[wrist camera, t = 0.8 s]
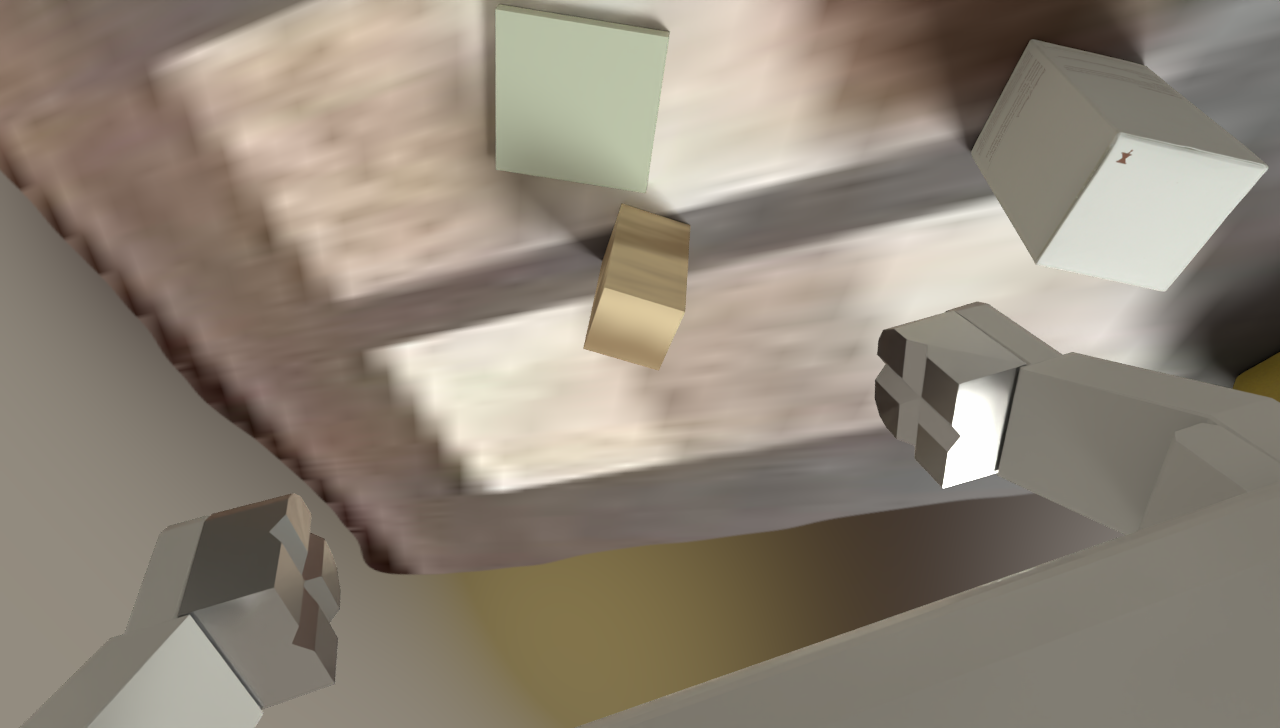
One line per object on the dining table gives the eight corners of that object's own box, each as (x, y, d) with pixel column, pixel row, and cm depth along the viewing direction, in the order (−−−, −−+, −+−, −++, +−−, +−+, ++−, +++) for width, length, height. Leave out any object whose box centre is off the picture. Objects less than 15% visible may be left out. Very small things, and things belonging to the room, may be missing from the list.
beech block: (621, 203, 51) (604, 287, 43) (690, 225, 51) (685, 311, 44) (602, 261, 54) (583, 348, 46) (667, 281, 55) (658, 370, 47)
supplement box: (965, 154, 46) (1028, 266, 37) (1030, 34, 41) (1121, 127, 32) (1075, 180, 47) (1165, 297, 37) (1151, 64, 42) (1277, 165, 32)
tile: (499, 4, 43) (495, 9, 42) (669, 31, 43) (668, 37, 42) (499, 162, 49) (495, 169, 49) (646, 186, 50) (645, 193, 49)
